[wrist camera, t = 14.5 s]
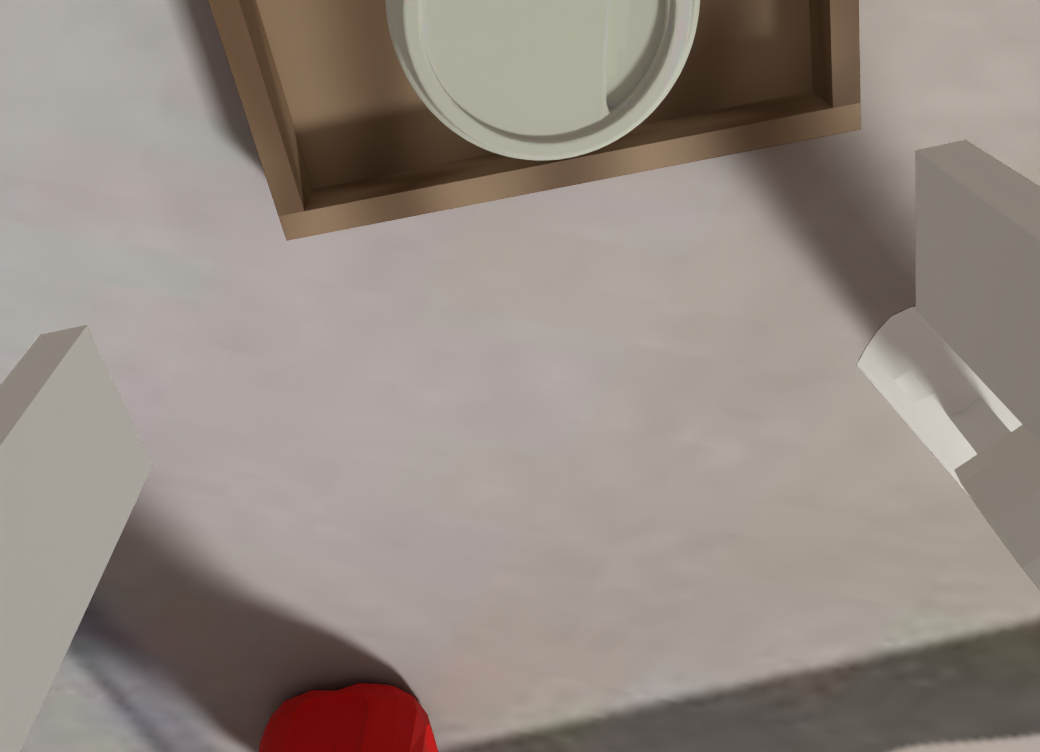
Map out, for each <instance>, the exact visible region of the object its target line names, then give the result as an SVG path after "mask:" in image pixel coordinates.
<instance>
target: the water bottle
mask: <svg viewBox="0 0 1040 752" xmlns="http://www.w3.org/2000/svg"><path fill="white" fill-rule="evenodd" d="M259 752H438V749H437V746H436V742H435V738H434V735H433V732H432V728H431V725H430V722H429V718H428V715H427V713H426V712H425V711H424V709H423V708H422V707H421V705H420V704H419V703H418V701H417V700H416V699H415V697H414V696H412V695H410V694H408V693H406V692H404V691H403V690H401V689H399V688H397V687H395V686H392V685H385V684H369V683H358V684H355V685H352V686H349V687H346V688H342V689H339V690H311V691H309V692H306V693H304V694H301V695H299V696H296V697H294V698H291V699H289V700H286V701H284V702H283V704H282V705H281V706H280V707H279V708H278V709H277V710H276V711H275V712H274V713H273V714H272V716H271V718H270V720H269V722H268V724H267V726H266V728H265V731H264V733H263V736H262V738H261V741H260V746H259Z"/></svg>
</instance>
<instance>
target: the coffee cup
mask: <svg viewBox="0 0 1040 752" xmlns="http://www.w3.org/2000/svg"><path fill="white" fill-rule="evenodd" d="M699 8H700V0H386V14H387V21H388V27H389V32H390V36H391V40H392V43H393V47H394V50H395V53H396V55H397V58H398V60H399V63H400V65H401V67H402V69H403V71H404V73H405V75H406V77H407V79H408V81H409V82H410V84H411V85H412V87H413V89H414V90H415V92H416V93H417V95H418V96H419V98H420V99H421V100H422V101H423V103H424V104H425V105H426V106H427V108H428V109H429V110H430V111H431V112H432V113H433V114H434V115H435V116H436V117H437V118H438V119H439V120H440V121H441V122H442V123H443V124H444V125H446V126H447V127H448V128H449V129H451V130H452V131H453V132H455V133H456V134H458V135H459V136H461V137H462V138H464V139H465V140H467V141H469V142H471V143H473V144H475V145H476V146H478V147H481V148H483V149H485V150H488V151H490V152H493V153H496V154H500V155H503V156H507V157H512V158H517V159H525V160H559V159H565V158H571V157H575V156H579V155H583V154H586V153H589V152H592V151H595V150H597V149H600V148H602V147H604V146H606V145H609V144H610V143H612V142H614V141H616V140H618V139H619V138H621V137H623V136H624V135H626V134H627V133H629V132H630V131H631V130H633V129H634V128H635V127H637V126H638V125H639V124H640V123H641V122H643V121H644V120H645V119H646V118H647V117H648V116H649V115H650V114H651V113H652V112H653V111H654V110H655V109H656V108H657V107H658V105H659V104H660V103H661V102H662V100H663V99H664V98H665V97H666V96H667V94H668V93H669V91H670V90H671V88H672V87H673V85H674V83H675V82H676V80H677V79H678V77H679V75H680V73H681V71H682V69H683V67H684V65H685V63H686V60H687V58H688V55H689V53H690V50H691V47H692V44H693V40H694V36H695V33H696V28H697V23H698V17H699Z"/></svg>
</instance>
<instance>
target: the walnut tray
mask: <svg viewBox="0 0 1040 752" xmlns="http://www.w3.org/2000/svg"><path fill="white" fill-rule="evenodd" d="M208 1H209V5H210V8H211V11H212V14H213V17H214V20H215V23H216V26H217V29H218V32H219V35H220V38H221V41H222V44H223V47H224V50H225V53H226V57H227V60H228V63H229V66H230V69H231V72H232V75H233V78H234V81H235V84H236V87H237V90H238V93H239V96H240V99H241V102H242V106H243V109H244V112H245V115H246V118H247V121H248V124H249V127H250V130H251V133H252V136H253V139H254V142H255V145H256V148H257V151H258V155H259V158H260V161H261V164H262V167H263V170H264V173H265V176H266V179H267V182H268V185H269V188H270V191H271V194H272V197H273V200H274V203H275V207H276V210H277V213H278V216H279V219H280V222H281V225H282V228H283V231H284V234H285V237H286V240H292V239H297V238H302V237H308V236H313V235H318V234H323V233H328V232H333V231H339V230H344V229H349V228H354V227H359V226H364V225H370V224H375V223H380V222H385V221H390V220H395V219H400V218H406V217H411V216H416V215H421V214H426V213H431V212H437V211H442V210H447V209H452V208H457V207H462V206H468V205H473V204H478V203H483V202H488V201H493V200H498V199H504V198H509V197H514V196H519V195H524V194H529V193H535V192H540V191H545V190H550V189H555V188H560V187H566V186H571V185H576V184H581V183H586V182H591V181H596V180H602V179H607V178H612V177H617V176H622V175H627V174H633V173H638V172H643V171H648V170H653V169H658V168H664V167H669V166H674V165H679V164H684V163H689V162H694V161H700V160H705V159H710V158H715V157H720V156H725V155H731V154H736V153H741V152H746V151H751V150H756V149H762V148H767V147H772V146H777V145H782V144H787V143H792V142H798V141H803V140H808V139H813V138H818V137H823V136H829V135H834V134H839V133H844V132H849V131H854V130H860V129H861V115H860V51H859V0H700V8H699V17H698V23H697V28H696V33H695V36H694V40H693V44H692V47H691V50H690V53H689V55H688V58H687V60H686V63H685V65H684V67H683V69H682V71H681V73H680V75H679V77H678V79H677V80H676V82H675V83H674V85H673V87H672V88H671V90H670V91H669V93H668V94H667V96H666V97H665V98H664V99H663V100H662V102H661V103H660V104H659V105H658V107H657V108H656V109H655V110H654V111H653V112H652V113H651V114H650V115H649V116H648V117H647V118H646V119H645V120H644V121H643V122H641V123H640V124H639V125H638V126H637V127H635V128H634V129H633V130H631V131H630V132H629V133H627V134H626V135H624V136H623V137H621V138H619V139H618V140H616V141H614V142H612V143H610V144H609V145H606V146H604V147H602V148H600V149H597V150H595V151H592V152H589V153H586V154H583V155H579V156H575V157H571V158H565V159H559V160H525V159H517V158H512V157H507V156H503V155H500V154H496V153H493V152H490V151H488V150H485V149H483V148H481V147H478V146H476V145H475V144H473V143H471V142H469V141H467V140H465V139H464V138H462V137H461V136H459V135H458V134H456V133H455V132H453V131H452V130H451V129H449V128H448V127H447V126H446V125H444V124H443V123H442V122H441V121H440V120H439V119H438V118H437V117H436V116H435V115H434V114H433V113H432V112H431V111H430V110H429V109H428V108H427V106H426V105H425V104H424V103H423V101H422V100H421V99H420V98H419V96H418V95H417V93H416V92H415V90H414V89H413V87H412V85H411V84H410V82H409V81H408V79H407V77H406V75H405V73H404V71H403V69H402V67H401V65H400V63H399V60H398V58H397V55H396V53H395V50H394V47H393V43H392V40H391V36H390V32H389V27H388V21H387V14H386V0H208Z"/></svg>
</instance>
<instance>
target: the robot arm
mask: <svg viewBox="0 0 1040 752" xmlns="http://www.w3.org/2000/svg"><path fill="white" fill-rule="evenodd" d="M915 161H916V311H917V312H918V313H919V314H920V315H921V317H922V318H923V319H924V320H925V321H926V322H927V323H928V324H929V325H930V326H931V327H932V328H933V329H934V330H935V331H936V333H937V334H938V335H939V336H940V337H941V338H942V339H943V340H944V341H945V342H946V343H947V344H948V345H949V346H950V347H951V349H952V350H953V351H954V352H955V353H956V354H957V355H958V356H959V357H960V358H961V359H962V360H963V361H964V362H965V363H966V365H967V366H968V367H969V368H970V369H971V370H972V371H973V372H974V373H975V374H976V375H977V376H978V377H979V378H980V379H981V380H982V382H983V383H984V384H985V385H986V386H987V387H988V388H989V389H990V390H991V391H992V392H993V393H994V394H995V395H996V396H997V398H998V399H999V400H1000V401H1001V402H1002V403H1003V404H1004V405H1005V406H1006V407H1007V408H1008V409H1009V410H1010V411H1011V412H1012V414H1013V415H1014V416H1015V417H1016V418H1017V419H1018V420H1019V421H1020V422H1021V423H1022V424H1023V425H1024V426H1025V427H1026V428H1027V430H1028V431H1029V432H1030V433H1031V434H1032V435H1033V436H1034V437H1035V438H1036V439H1037V440H1038V441H1039V442H1040V186H1038V185H1037V184H1035V183H1034V182H1032V181H1030V180H1029V179H1027V178H1026V177H1024V176H1022V175H1021V174H1019V173H1018V172H1016V171H1014V170H1013V169H1011V168H1010V167H1008V166H1007V165H1005V164H1003V163H1002V162H1000V161H999V160H997V159H995V158H994V157H992V156H991V155H989V154H987V153H986V152H984V151H983V150H981V149H980V148H978V147H976V146H975V145H973V144H972V143H970V142H968V141H967V140H963V141H958V142H953V143H949V144H944V145H939V146H935V147H930V148H925V149H920V150H916V151H915ZM152 466H153V465H152V463H151V461H150V459H149V456H148V454H147V452H146V450H145V448H144V446H143V444H142V441H141V439H140V437H139V435H138V433H137V431H136V429H135V426H134V424H133V422H132V420H131V418H130V416H129V414H128V412H127V409H126V407H125V405H124V403H123V401H122V399H121V397H120V394H119V392H118V390H117V388H116V386H115V384H114V382H113V379H112V377H111V375H110V373H109V371H108V369H107V367H106V364H105V362H104V360H103V358H102V356H101V354H100V352H99V349H98V347H97V345H96V343H95V341H94V339H93V337H92V334H91V332H90V330H89V328H88V326H87V325H85V326H80V327H76V328H71V329H66V330H61V331H57V332H52V333H47V334H42V335H40V336H39V338H38V339H37V340H36V341H35V343H34V344H33V345H32V346H31V348H30V349H29V350H28V351H27V353H26V354H25V355H24V357H23V358H22V359H21V360H20V362H19V363H18V364H17V365H16V367H15V368H14V369H13V370H12V372H11V373H10V374H9V375H8V377H7V378H6V379H5V380H4V382H3V383H2V384H1V385H0V752H21V750H22V748H23V745H24V743H25V741H26V739H27V737H28V735H29V732H30V730H31V728H32V726H33V724H34V722H35V719H36V717H37V715H38V713H39V711H40V709H41V706H42V704H43V702H44V700H45V698H46V696H47V693H48V691H49V689H50V687H51V685H52V683H53V681H54V678H55V676H56V674H57V672H58V670H59V668H60V665H61V663H62V661H63V659H64V657H65V655H66V652H67V650H68V648H69V646H70V644H71V642H72V639H73V637H74V635H75V633H76V631H77V629H78V626H79V624H80V622H81V620H82V618H83V616H84V613H85V611H86V609H87V607H88V605H89V603H90V600H91V598H92V596H93V594H94V592H95V590H96V587H97V585H98V583H99V581H100V579H101V577H102V575H103V572H104V570H105V568H106V566H107V564H108V562H109V559H110V557H111V555H112V553H113V551H114V549H115V546H116V544H117V542H118V540H119V538H120V536H121V533H122V531H123V529H124V527H125V525H126V523H127V520H128V518H129V516H130V514H131V512H132V510H133V507H134V505H135V503H136V501H137V499H138V497H139V494H140V492H141V490H142V488H143V486H144V484H145V482H146V479H147V477H148V475H149V473H150V471H151V469H152Z"/></svg>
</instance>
